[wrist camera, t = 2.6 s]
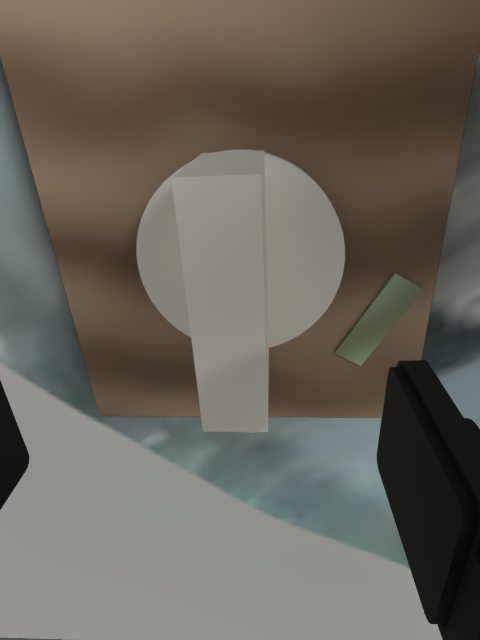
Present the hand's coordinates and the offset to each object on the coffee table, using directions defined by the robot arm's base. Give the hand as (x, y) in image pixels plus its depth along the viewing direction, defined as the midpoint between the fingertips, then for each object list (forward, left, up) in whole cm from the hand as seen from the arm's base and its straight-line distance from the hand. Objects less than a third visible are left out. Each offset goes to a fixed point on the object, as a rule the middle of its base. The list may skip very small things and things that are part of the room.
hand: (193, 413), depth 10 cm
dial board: (0, 0, -13) cm, 13 cm away
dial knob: (+2, 0, -10) cm, 10 cm away
